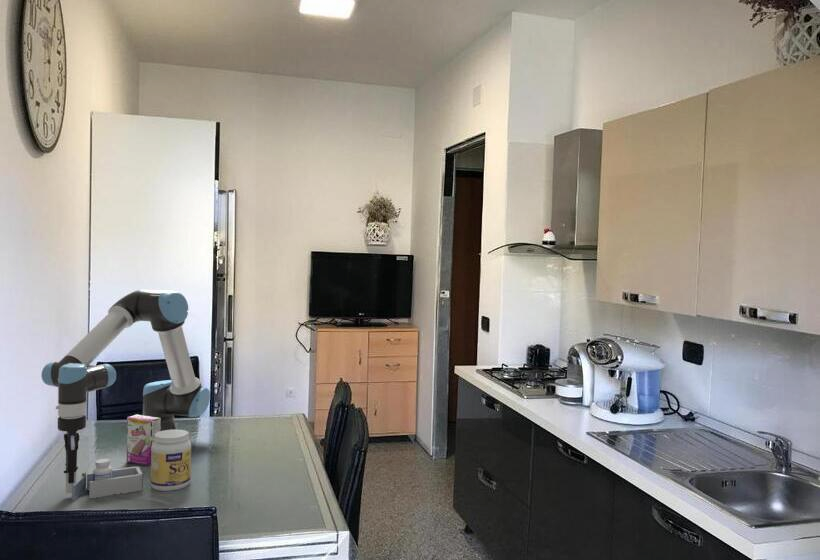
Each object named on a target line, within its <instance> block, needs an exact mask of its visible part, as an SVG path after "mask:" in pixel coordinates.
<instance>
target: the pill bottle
mask: <svg viewBox="0 0 820 560" xmlns="http://www.w3.org/2000/svg"><path fill="white" fill-rule="evenodd" d="M110 460H111V459H109V458H100V459H97V460H95V464H94V466H95V467H94V468H93V470H92V473H93V481H96V480H103V479H109V478H112V470H113V467H112V466H110V463H111V461H110Z"/></svg>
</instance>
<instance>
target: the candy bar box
mask: <svg viewBox="0 0 820 560" xmlns="http://www.w3.org/2000/svg"><path fill="white" fill-rule="evenodd" d="M126 419H127V420H126V463H129V464H136V465H142V466H147V467H151V447H152V444H153V443H154V442H155V441H154V435H155V433H157V432H160V431H161V418H157V417H150V416H144V415H143V414H134V415H130V416H127V418H126Z"/></svg>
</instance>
